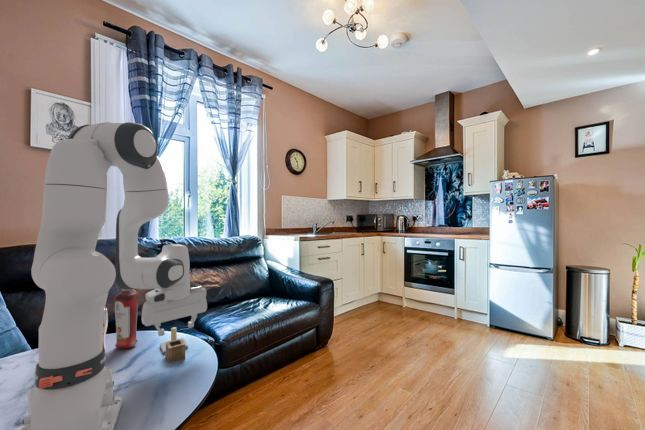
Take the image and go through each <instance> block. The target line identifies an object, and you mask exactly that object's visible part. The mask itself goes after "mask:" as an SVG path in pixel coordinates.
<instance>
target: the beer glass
mask: <svg viewBox="0 0 645 430" xmlns="http://www.w3.org/2000/svg"><path fill="white" fill-rule="evenodd" d="M108 323H109V314H108V307H107V306H105V309H104V315H103V348H104V349H105V351H106V350H107V344H106V334H107V330H108Z"/></svg>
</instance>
